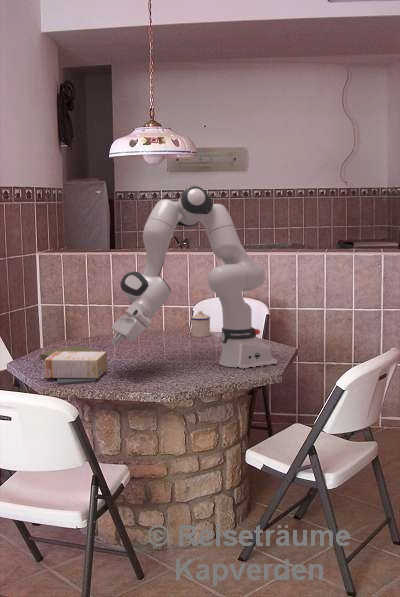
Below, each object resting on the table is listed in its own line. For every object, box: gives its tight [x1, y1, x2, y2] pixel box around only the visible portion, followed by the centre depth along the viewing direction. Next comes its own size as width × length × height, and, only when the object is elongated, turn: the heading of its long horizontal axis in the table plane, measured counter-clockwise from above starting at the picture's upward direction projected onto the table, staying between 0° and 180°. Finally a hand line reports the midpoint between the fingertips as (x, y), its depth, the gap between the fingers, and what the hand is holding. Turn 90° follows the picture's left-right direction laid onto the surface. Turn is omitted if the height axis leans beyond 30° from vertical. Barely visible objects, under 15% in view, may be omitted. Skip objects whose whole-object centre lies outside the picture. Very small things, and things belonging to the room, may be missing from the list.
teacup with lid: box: [184, 310, 211, 338], centre depth 347 cm, size 12×9×12 cm
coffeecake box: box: [43, 351, 108, 379], centre depth 270 cm, size 15×7×20 cm
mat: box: [55, 378, 96, 386], centre depth 267 cm, size 13×16×1 cm
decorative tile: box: [39, 345, 102, 360], centre depth 302 cm, size 19×20×4 cm
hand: (112, 344), depth 266 cm, fingers closed
